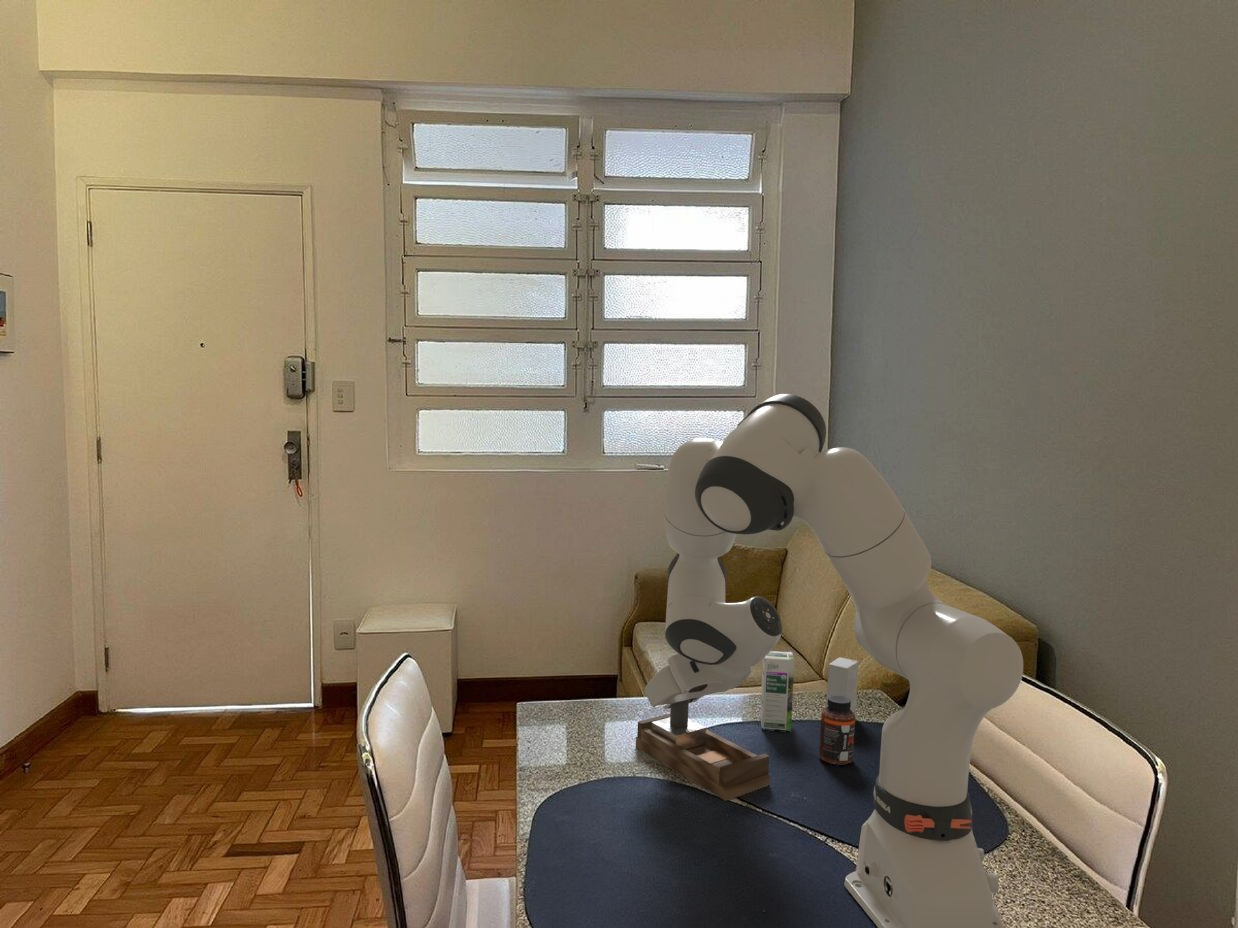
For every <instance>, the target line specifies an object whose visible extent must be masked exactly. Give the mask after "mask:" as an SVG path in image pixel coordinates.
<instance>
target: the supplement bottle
mask: <svg viewBox="0 0 1238 928" xmlns="http://www.w3.org/2000/svg"><path fill="white" fill-rule="evenodd" d="M827 704H828V707H823V709H821V716H820V726H819V727H820V729H819V730H820V731H819V747H818V757H819V756H820V757H819V759H820V760H821V759H822V761H823V760H824V761H826V762H829V763H835V764H841V765H843V764H847V763H850V764H851V763H852V761H853V759H854V758H853V757H854V743H855V742H854V741H855V731H856V730H855V729H856V716H855V714H854V712H853V711H851V709H850V707H851V700H850V699H849V698H847V697H844V696H837V695H834V696H829V697H828V703H827ZM824 761H823V762H824ZM826 762H825V763H826ZM829 763H828V764H829Z"/></svg>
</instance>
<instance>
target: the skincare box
mask: <svg viewBox="0 0 1238 928" xmlns="http://www.w3.org/2000/svg"><path fill="white" fill-rule="evenodd" d="M827 666H828V667H827V686H826V703H825V706H826V707H828V704H827V703H828V697H829V696H834V695H837V696H844V697H847V698H849V699H850V700H851V707H850V709H851V711H853V712H854V714H855V717H856V713H857V693H858V678H859V677H858V673H859V660H854V659H849V658H845V657H841V656H840V657H837V658H836V659H835V660H833V661H832V662H830V663H828V665H827Z"/></svg>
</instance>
